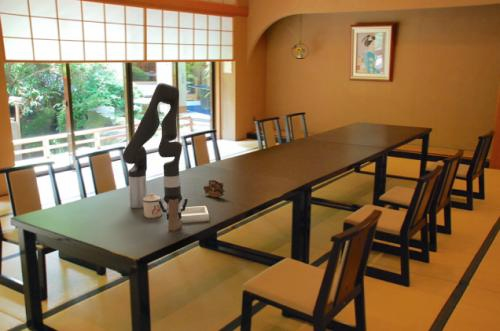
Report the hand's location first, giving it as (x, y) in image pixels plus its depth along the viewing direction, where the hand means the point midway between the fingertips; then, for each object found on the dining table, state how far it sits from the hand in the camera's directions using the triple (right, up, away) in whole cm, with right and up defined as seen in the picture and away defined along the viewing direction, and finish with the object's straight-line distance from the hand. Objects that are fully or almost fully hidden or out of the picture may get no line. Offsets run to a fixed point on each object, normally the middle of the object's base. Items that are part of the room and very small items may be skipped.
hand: (174, 219), depth 232 cm
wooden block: (0, -4, +1) cm, 4 cm away
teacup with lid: (-13, 0, +22) cm, 26 cm away
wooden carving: (+15, +7, +52) cm, 54 cm away
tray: (+7, -1, +16) cm, 18 cm away
